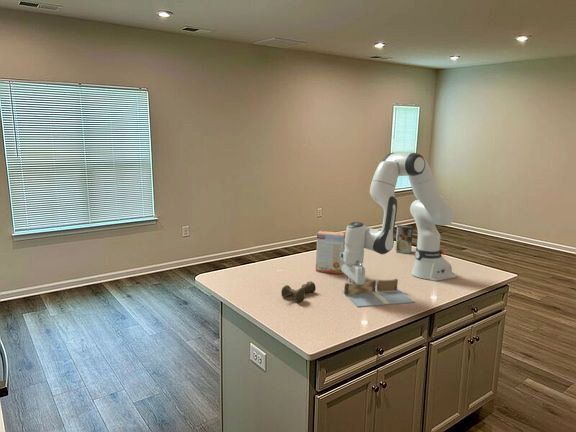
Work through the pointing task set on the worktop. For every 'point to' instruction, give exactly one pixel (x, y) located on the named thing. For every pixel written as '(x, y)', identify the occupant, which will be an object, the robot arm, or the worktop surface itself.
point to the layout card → (380, 295)
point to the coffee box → (404, 239)
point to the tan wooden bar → (359, 287)
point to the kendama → (298, 291)
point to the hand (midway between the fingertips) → (351, 287)
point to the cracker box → (329, 251)
